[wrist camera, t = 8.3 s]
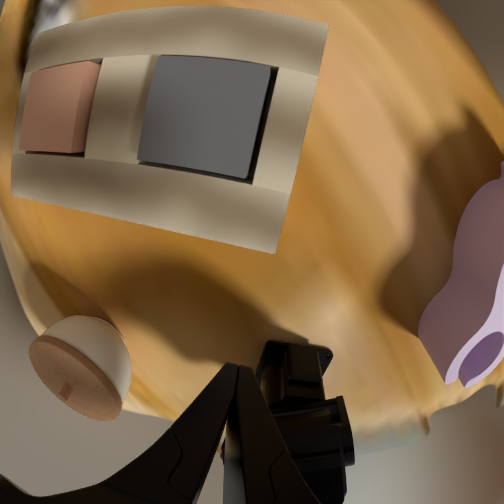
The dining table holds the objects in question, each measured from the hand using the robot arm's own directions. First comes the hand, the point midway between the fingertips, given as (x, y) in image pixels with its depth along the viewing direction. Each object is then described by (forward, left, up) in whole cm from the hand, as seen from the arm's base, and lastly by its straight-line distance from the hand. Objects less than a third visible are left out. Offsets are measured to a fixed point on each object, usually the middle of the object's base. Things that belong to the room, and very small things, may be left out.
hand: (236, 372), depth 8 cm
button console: (+8, +10, -13) cm, 18 cm away
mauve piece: (+3, -22, -13) cm, 26 cm away
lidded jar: (-15, +14, -13) cm, 24 cm away
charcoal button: (+8, +4, -12) cm, 15 cm away
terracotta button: (+8, +16, -12) cm, 21 cm away
